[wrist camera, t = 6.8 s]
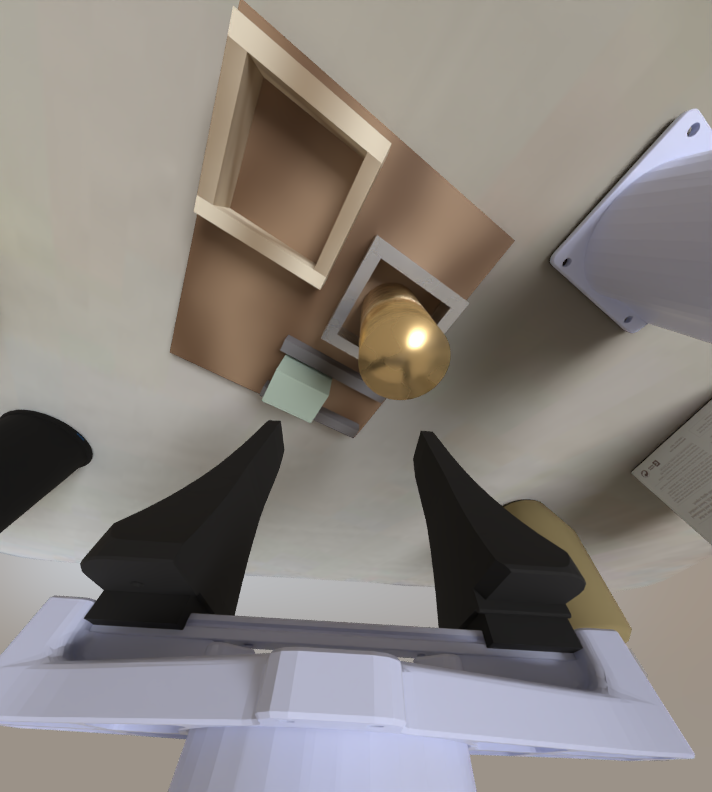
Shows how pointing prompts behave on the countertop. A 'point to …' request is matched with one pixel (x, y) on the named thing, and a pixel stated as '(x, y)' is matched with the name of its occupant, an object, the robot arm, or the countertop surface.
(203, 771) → the robot arm
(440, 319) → the steel socket
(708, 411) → the supplement box
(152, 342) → the countertop surface
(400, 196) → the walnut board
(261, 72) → the ash socket frame
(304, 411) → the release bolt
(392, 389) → the brass cylinder plug
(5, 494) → the aerosol can
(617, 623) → the squeeze bottle
